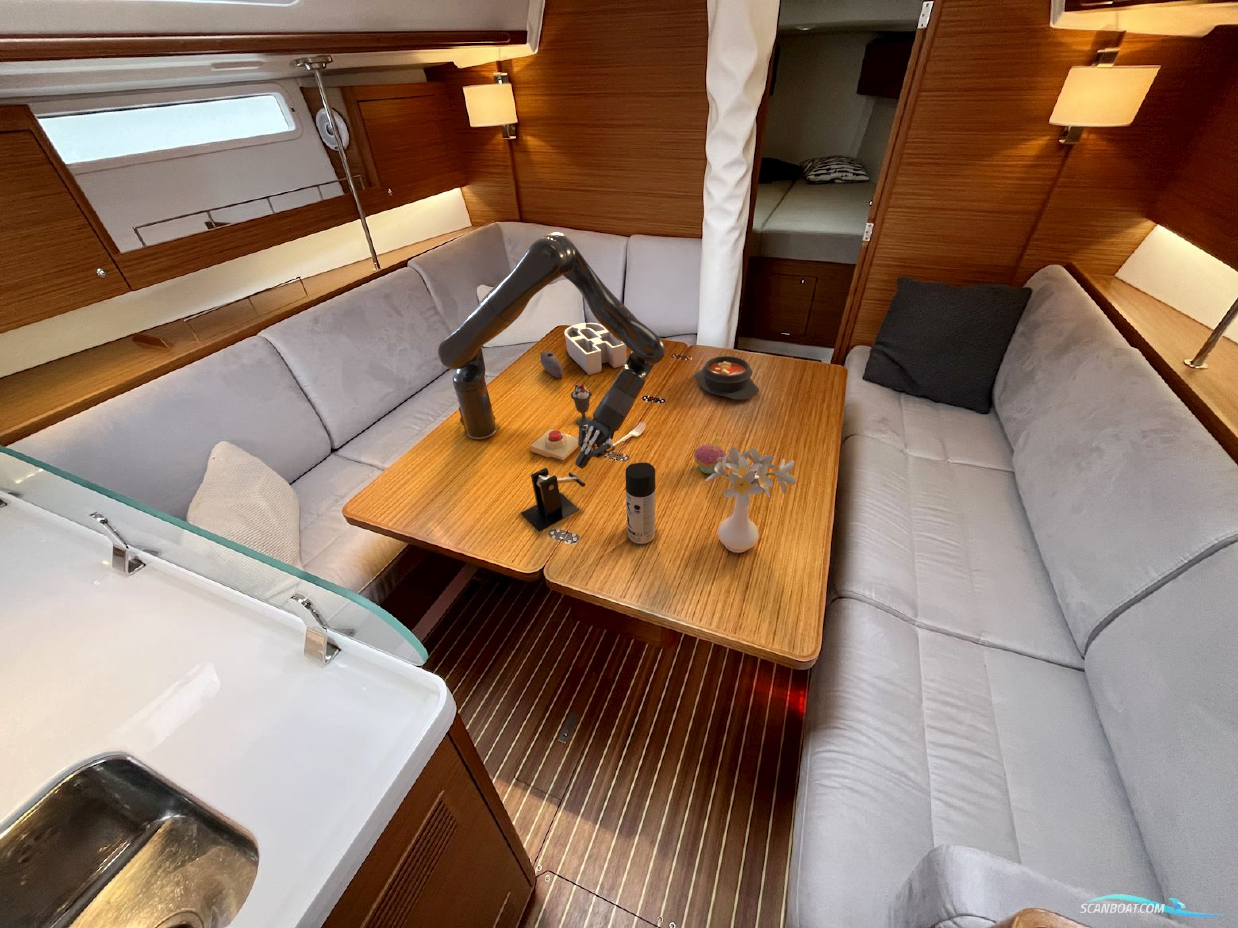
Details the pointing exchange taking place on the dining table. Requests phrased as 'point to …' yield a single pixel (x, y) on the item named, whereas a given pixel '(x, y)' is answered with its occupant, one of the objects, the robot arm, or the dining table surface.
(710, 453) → the cupcake
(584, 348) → the white compartment organizer
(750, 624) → the dining table surface
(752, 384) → the casserole
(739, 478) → the flower vase
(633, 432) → the fork
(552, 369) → the perforated stone tool
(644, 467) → the spray can
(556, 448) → the button housing
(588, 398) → the sundae
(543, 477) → the lever
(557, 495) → the bracket
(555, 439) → the button
